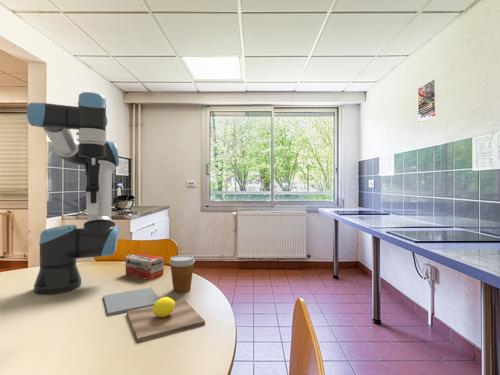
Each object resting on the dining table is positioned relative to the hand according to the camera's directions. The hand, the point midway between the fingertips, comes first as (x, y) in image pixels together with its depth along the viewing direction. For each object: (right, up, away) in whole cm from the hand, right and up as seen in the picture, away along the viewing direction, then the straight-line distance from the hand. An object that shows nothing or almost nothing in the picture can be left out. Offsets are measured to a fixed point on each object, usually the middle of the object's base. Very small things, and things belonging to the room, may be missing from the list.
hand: (92, 212), depth 89 cm
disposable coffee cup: (+23, -31, +19) cm, 43 cm away
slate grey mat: (+9, -31, +8) cm, 33 cm away
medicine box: (+3, -31, +37) cm, 48 cm away
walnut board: (+24, -31, -5) cm, 39 cm away
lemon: (+24, -30, -5) cm, 39 cm away
